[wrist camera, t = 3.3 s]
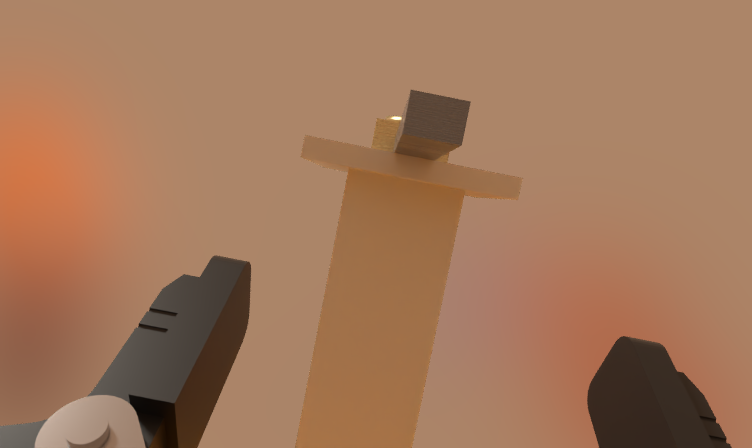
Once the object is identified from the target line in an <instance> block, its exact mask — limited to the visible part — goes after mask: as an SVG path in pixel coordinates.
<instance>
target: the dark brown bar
mask: <svg viewBox="0 0 752 448" xmlns="http://www.w3.org/2000/svg"><path fill="white" fill-rule="evenodd" d="M469 106H470V102H469V101H465V100H459V99H454V98H450V97H444V96H439V95H434V94H429V93H424V92H419V91H414V90H411V91H410V94H409V97H408V100H407V104H406V106H405V110H404V112H403V115H402V116H387V117H386V119H385V120H384V119H379V118H377V122H376V127H375V132H374V137H373V142H372V147H371V148H373V149H378V150H383V151H388V152H393V153H398V154H403V155H408V156H414V157H419V158H424V159H429V160H434V161H439V162H444V163H447V161H448V156H449V152H450V151H452V150H454V149H456V148H457V147H459V146H461V145H462V141H463V136H464V131H465V126H466V121H467V117H468V112H469Z"/></svg>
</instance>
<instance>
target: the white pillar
mask: <svg viewBox="0 0 752 448" xmlns="http://www.w3.org/2000/svg"><path fill="white" fill-rule="evenodd" d="M301 157H302V158H304V159H306V160H308V161H311V162H313V163H315V164H317V165H319V166H322V167H324V168H329V169H334V170H339V171H344V172H348V175H347V180H346V185H345V190H344V196H343V201H342V206H341V211H340V217H339V222H338V227H337V232H336V238H335V242H334V248H333V253H332V258H331V264H330V268H329V274H328V279H327V284H326V289H325V294H324V300H323V305H322V311H321V315H320V320H319V326H318V331H317V336H316V341H315V346H314V352H313V357H312V362H311V367H310V372H309V378H308V383H307V388H306V394H305V399H304V404H303V409H302V414H301V419H300V425H299V430H298V435H297V440H296V446H295V448H412V444H413V440H414V435H415V430H416V425H417V420H418V416H419V411H420V406H421V401H422V396H423V392H424V387H425V382H426V377H427V371H428V367H429V363H430V358H431V353H432V348H433V343H434V338H435V334H436V328H437V324H438V319H439V314H440V309H441V305H442V300H443V295H444V290H445V285H446V280H447V275H448V270H449V266H450V261H451V256H452V252H453V247H454V242H455V237H456V232H457V227H458V222H459V217H460V213H461V208H462V203H463V198H464V195H465V196H471V197H476V198H495V199H511V200H518V197H519V193H520V189H521V183H522V179H523V178H519V177H515V176H509V175H505V174H499V173H494V172H489V171H484V170H478V169H474V168H469V167H464V166H459V165H454V164H449V163H444V162H439V161H434V160H429V159H424V158H419V157H414V156H408V155H403V154H398V153H393V152H388V151H383V150H378V149H373V148H368V147H363V146H357V145H353V144H348V143H342V142H338V141H333V140H327V139H322V138H317V137H312V136H307V135H305V137H304V143H303V148H302V153H301Z"/></svg>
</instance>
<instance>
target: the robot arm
mask: <svg viewBox="0 0 752 448" xmlns="http://www.w3.org/2000/svg"><path fill="white" fill-rule="evenodd" d="M250 281H251V265H250V263H249V262H247V261H242V260H237V259H231V258H226V257H221V256H213V257H212V258H211V260H210V262H209V263H208V265H207V267H206V268H205V270H204V271H203V273H202V275H201V276H200V277H195V276H190V275H185V274H184V275H183V276H181V277H179V278H178V279H176V280H175V281H173V282H172V283H170V284H169V285H168V286H166V287H165V288H163V289H162V291H161V292H160V294H159V295H158V296H157V298H156V300H155V301H154V302H153V304H152V305H151V307H150V310H149V312H146V314H145V315H144V317H143V318H142V320H141V321H140V323H139V326H138V328H136V329H135V330H134V332H133V333H132V334H131V336H130V337H129V339H128V340H127V342H126V343H125V345H124V346H123V348H122V349H121V350H120V352H119V353H118V355H117V356H116V358H115V359H114V361H113V362H112V364H111V365H110V367H109V368H108V369H107V371H106V372H105V374H104V375H103V377H102V378H101V380H100V381H99V383H98V384H97V386H96V387H95V388H94V389H93V391H92V392H91V393H90V394H89V395H88V396H87V397H85V398H81V399H79V400H76V401H73V402H71V403H69V404H67V405H65V406H64V407H63V408H61V409H59V410H58V411H57V412H56V413H54V414H53V415H52V416H51V417H50V418H49V419H47V420H43V421H40V422H34V423H26V424H17V425H7V426H0V448H197V447H198V445H199V442H200V440H201V438H202V435H203V433H204V430H205V428H206V426H207V423H208V421H209V419H210V416H211V414H212V412H213V410H214V407H215V405H216V403H217V400H218V398H219V396H220V393H221V391H222V389H223V386H224V384H225V381H226V379H227V377H228V375H229V372H230V370H231V368H232V365H233V363H234V361H235V358H236V356H237V354H238V351H239V349H240V347H241V344H242V342H243V339H244V336H245V333H246V329H247V324H248V319H249V307H250ZM587 401H588V410H589V414H590V417H591V421H592V424H593V427H594V431H595V434H596V437H597V441H598V444H599V448H731V446H730V444H727V443H726V436H725V434H724V433H723V431H722V429H721V427H720V425H719V424H717V423H716V417H715V416H714V414H713V412H712V410H711V408H710V406H709V404H708V402H707V400H706V399H705V397H704V395H703V394H702V393H701V392H700V391H699V389H698V388H697V387H696V386H695V385H694V384H693V383H692V382H691V381H690V380H689V379H688V378H687V376H686V375H685V374H684V373H682V372H677V371H676V369H675V367H674V365H673V363H672V361H671V359H670V357H669V355H668V353H667V351H666V349H665V347H664V346H663V345H661V344H660V343H656V342H651V341H646V340H641V339H636V338H630V337H625V336H623V337H620V338H619V339H618V340H617V341H616V342H615V344H614V346H613V347H612V349H611V350H610V352H609V353H608V355H607V357H606V358H605V360H604V362H603V363H602V365H601V367H600V368H599V370H598V371H597V373H596V374H595V376H594V378H593V379H592V381H591V383H590V386H589V390H588V400H587Z"/></svg>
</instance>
